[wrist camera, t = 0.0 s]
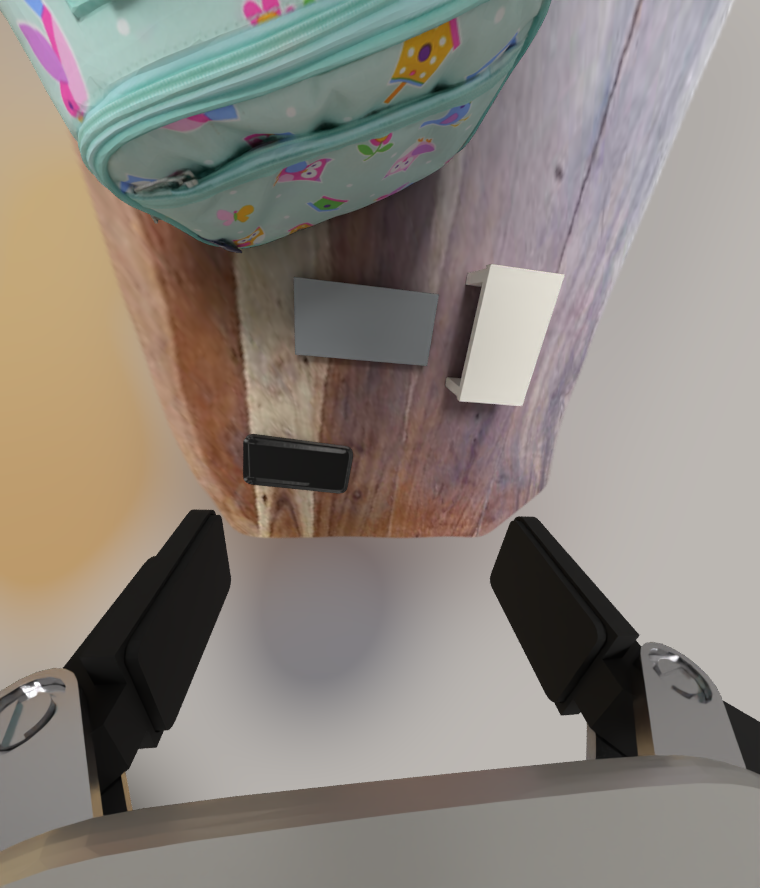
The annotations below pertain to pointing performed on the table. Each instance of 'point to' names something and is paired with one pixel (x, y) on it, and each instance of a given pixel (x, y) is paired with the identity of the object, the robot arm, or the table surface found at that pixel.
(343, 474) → the phone
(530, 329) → the white hollow box
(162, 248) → the table surface
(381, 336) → the slate board
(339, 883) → the robot arm
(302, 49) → the lunch box
